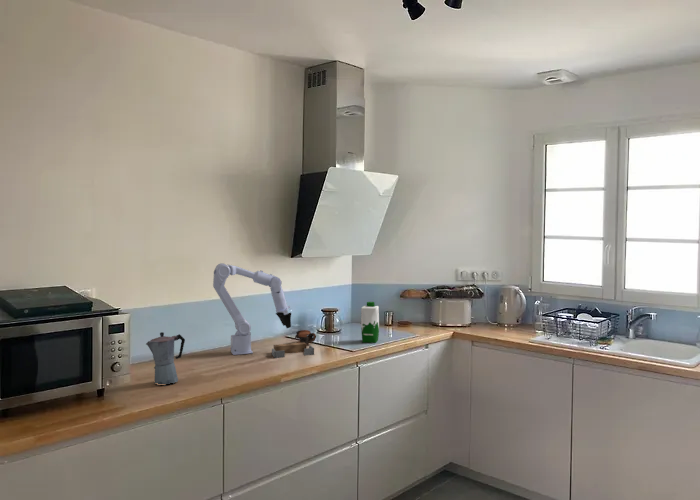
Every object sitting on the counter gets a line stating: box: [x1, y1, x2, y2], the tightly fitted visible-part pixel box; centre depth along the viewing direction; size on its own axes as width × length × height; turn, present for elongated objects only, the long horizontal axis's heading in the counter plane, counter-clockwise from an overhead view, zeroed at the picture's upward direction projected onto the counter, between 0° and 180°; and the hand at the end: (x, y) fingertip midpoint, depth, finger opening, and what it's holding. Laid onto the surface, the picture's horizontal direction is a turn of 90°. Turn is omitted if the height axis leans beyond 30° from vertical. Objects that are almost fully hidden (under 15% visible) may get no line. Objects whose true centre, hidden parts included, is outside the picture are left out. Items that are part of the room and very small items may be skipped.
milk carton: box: [360, 301, 380, 344], centre depth 294 cm, size 9×9×20 cm
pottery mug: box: [294, 329, 317, 347], centre depth 291 cm, size 12×10×8 cm
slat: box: [273, 342, 307, 355], centre depth 273 cm, size 15×4×4 cm, turn 109°
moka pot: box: [145, 332, 186, 385], centre depth 223 cm, size 10×15×20 cm, turn 135°
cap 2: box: [303, 344, 315, 356], centre depth 270 cm, size 5×7×3 cm
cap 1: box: [271, 348, 286, 359], centre depth 265 cm, size 5×7×3 cm
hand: (287, 326), depth 279 cm, fingers open, 7 cm apart
